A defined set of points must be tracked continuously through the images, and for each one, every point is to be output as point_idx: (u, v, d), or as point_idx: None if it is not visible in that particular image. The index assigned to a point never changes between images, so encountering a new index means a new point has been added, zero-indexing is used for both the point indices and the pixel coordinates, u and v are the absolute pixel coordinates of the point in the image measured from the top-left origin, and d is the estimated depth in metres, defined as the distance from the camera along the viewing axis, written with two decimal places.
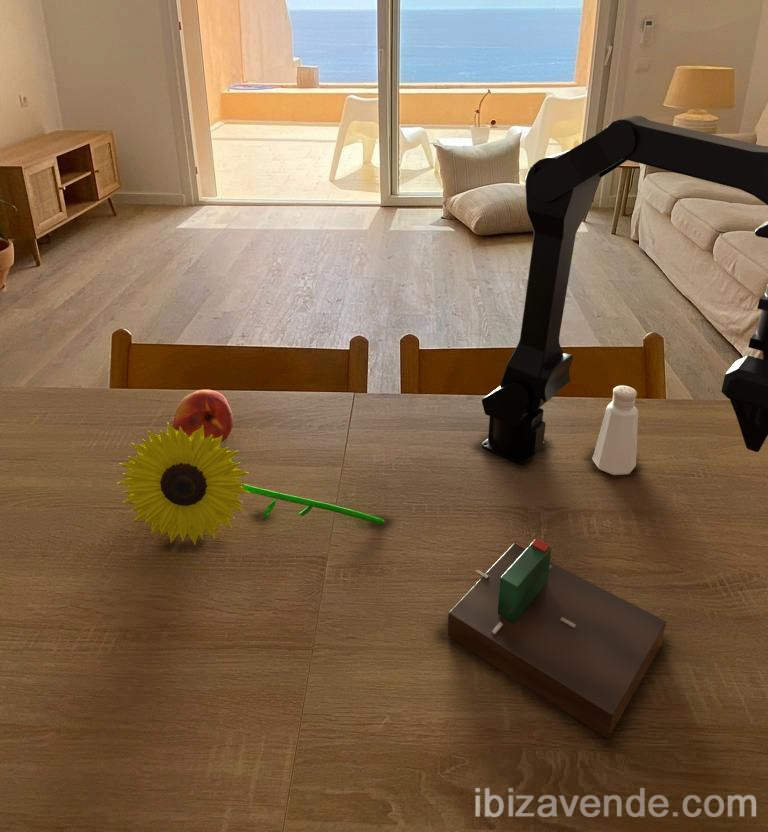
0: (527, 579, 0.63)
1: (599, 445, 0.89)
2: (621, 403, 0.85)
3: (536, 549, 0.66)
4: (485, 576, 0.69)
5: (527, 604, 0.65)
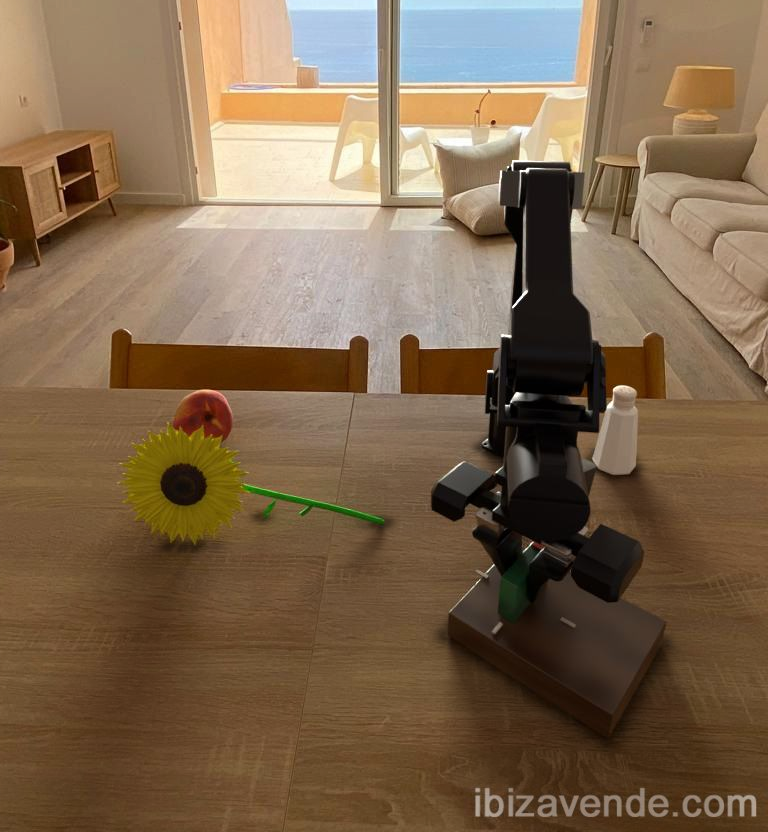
0: (527, 579, 0.63)
1: (599, 445, 0.89)
2: (621, 403, 0.85)
3: (536, 549, 0.66)
4: (485, 576, 0.69)
5: (527, 604, 0.65)
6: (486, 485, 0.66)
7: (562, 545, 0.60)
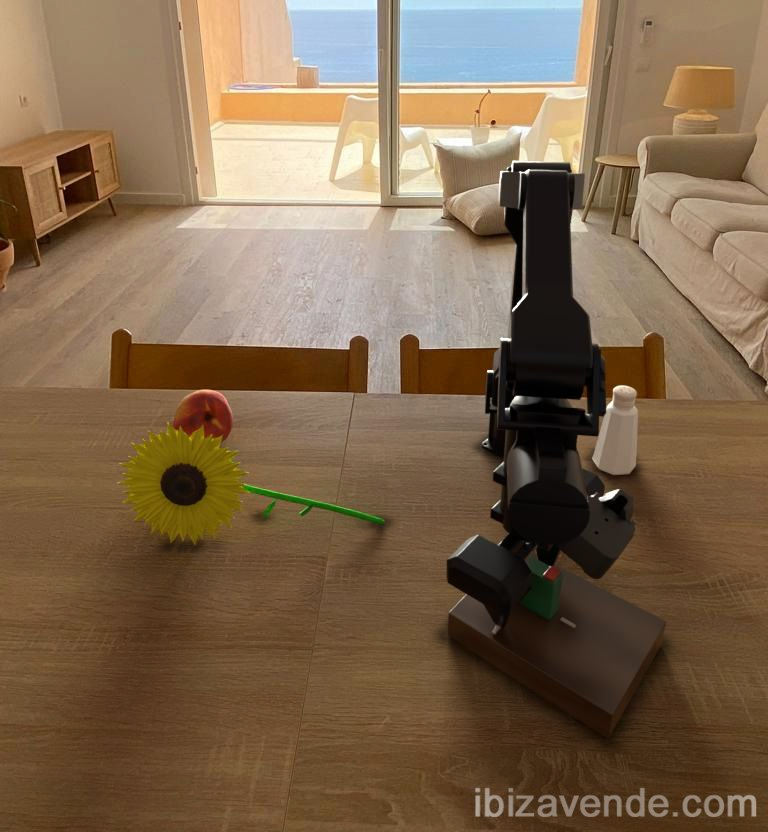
0: None
1: (599, 445, 0.89)
2: (621, 403, 0.85)
3: (546, 571, 0.63)
4: None
5: None
6: None
7: None
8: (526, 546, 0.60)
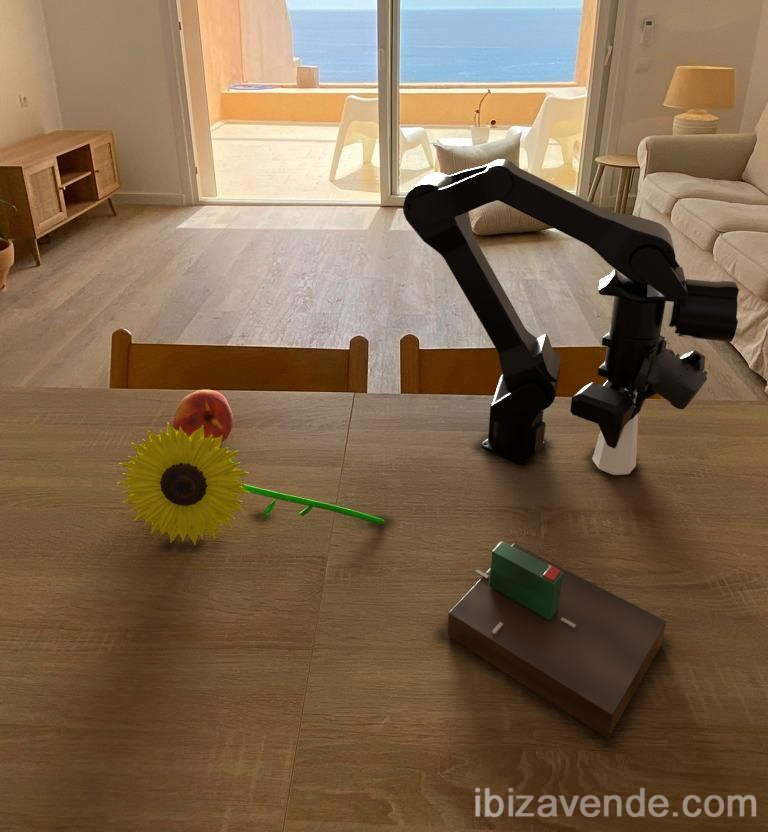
0: (509, 564, 0.65)
1: (599, 445, 0.89)
2: None
3: (546, 571, 0.63)
4: (485, 576, 0.69)
5: (511, 595, 0.66)
6: None
7: (610, 385, 0.84)
8: None
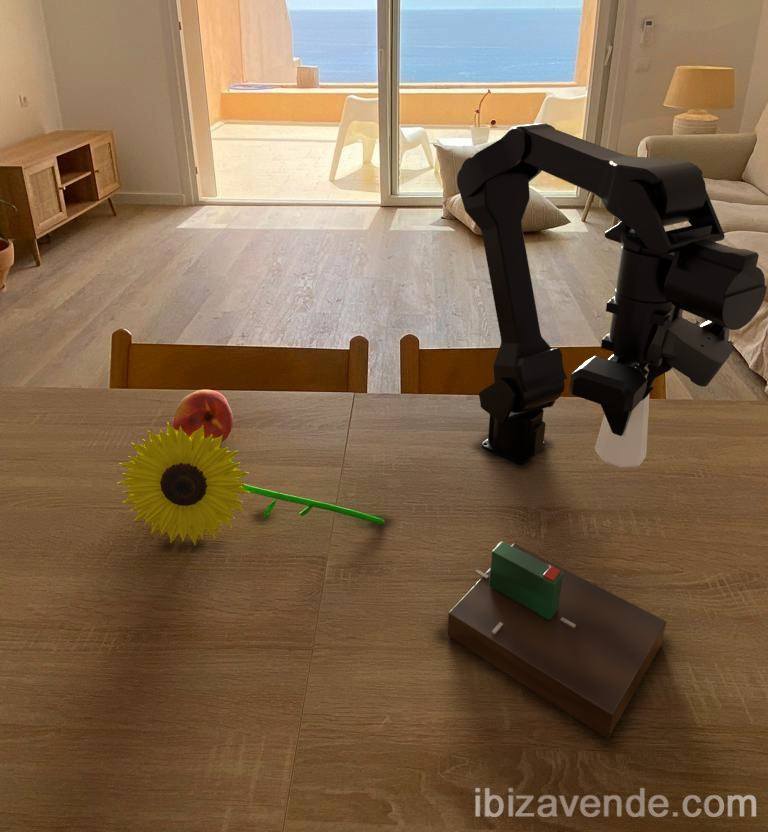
0: (509, 564, 0.65)
1: (603, 432, 0.75)
2: None
3: (546, 571, 0.63)
4: (485, 576, 0.69)
5: (511, 595, 0.66)
6: None
7: (616, 360, 0.70)
8: None
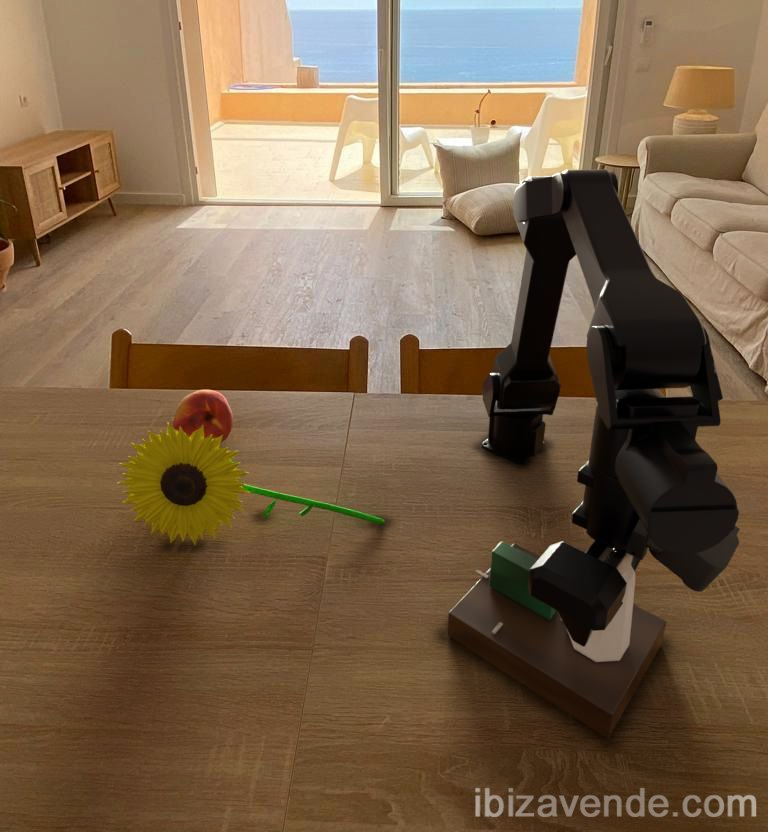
0: (509, 564, 0.65)
1: None
2: None
3: None
4: (485, 576, 0.69)
5: (511, 595, 0.66)
6: None
7: None
8: (614, 556, 0.54)
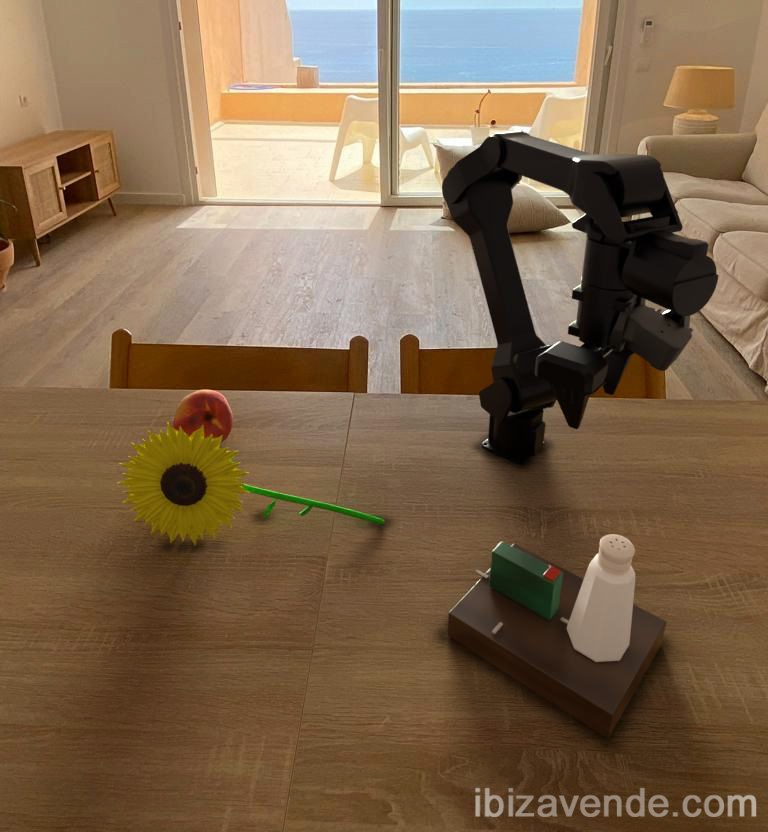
0: (509, 564, 0.65)
1: (577, 615, 0.61)
2: (611, 565, 0.57)
3: (546, 571, 0.63)
4: (485, 576, 0.69)
5: (511, 595, 0.66)
6: None
7: None
8: (599, 352, 0.72)
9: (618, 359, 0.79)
